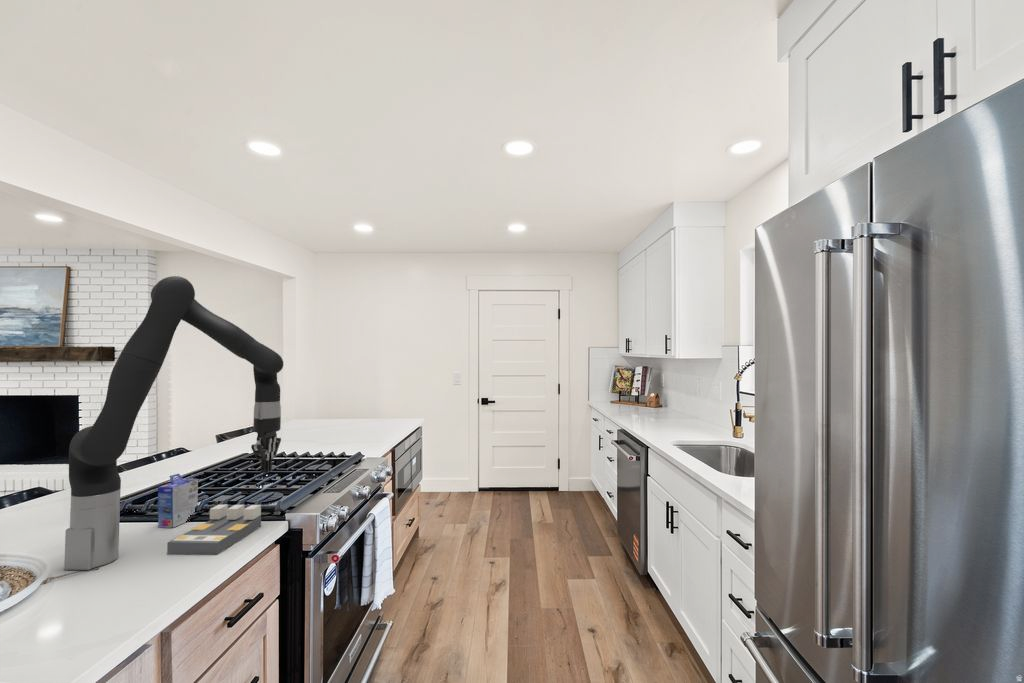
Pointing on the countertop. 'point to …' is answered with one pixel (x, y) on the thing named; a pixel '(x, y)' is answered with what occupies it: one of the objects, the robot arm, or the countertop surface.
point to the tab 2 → (252, 512)
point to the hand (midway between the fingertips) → (266, 471)
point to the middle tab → (235, 512)
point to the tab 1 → (218, 511)
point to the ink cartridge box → (177, 501)
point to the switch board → (213, 536)
